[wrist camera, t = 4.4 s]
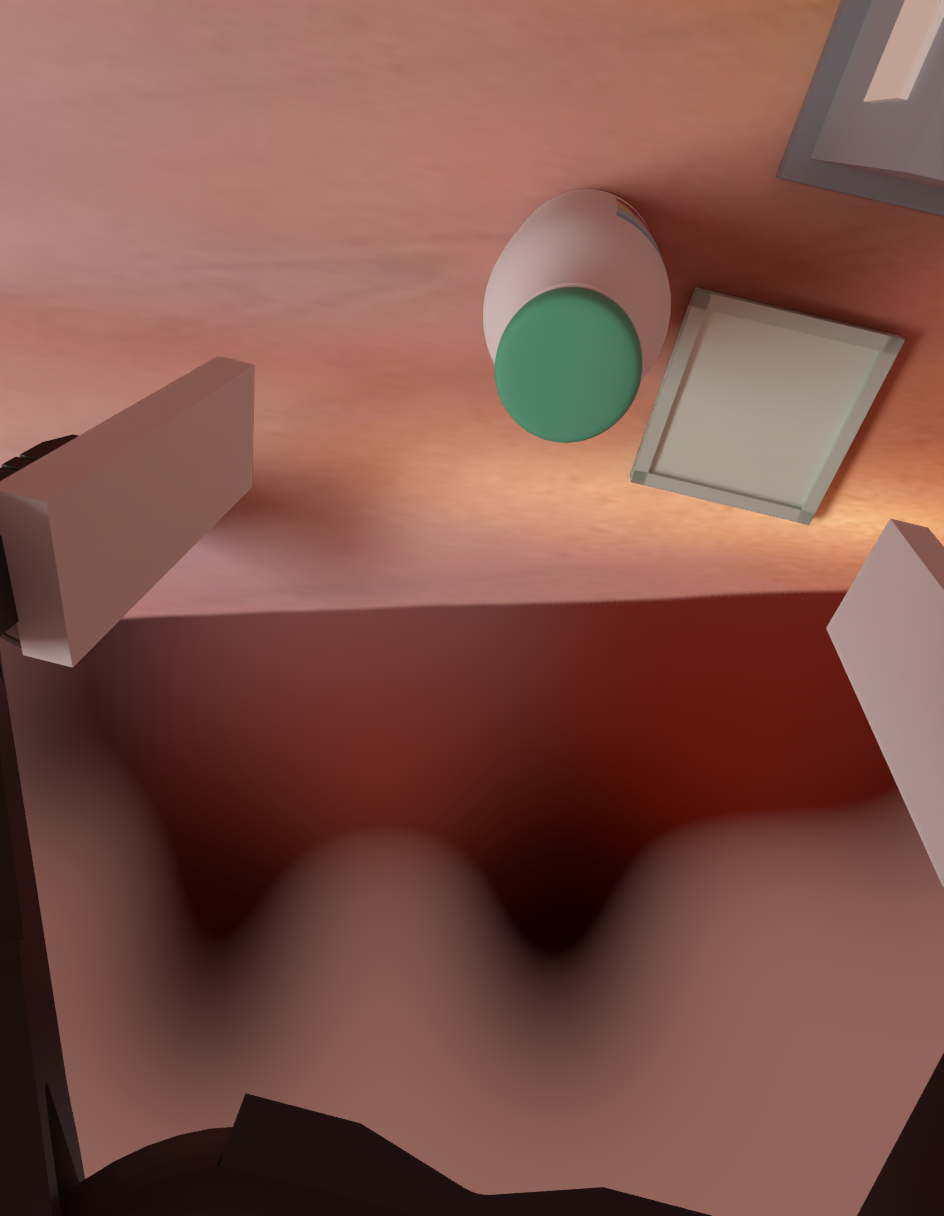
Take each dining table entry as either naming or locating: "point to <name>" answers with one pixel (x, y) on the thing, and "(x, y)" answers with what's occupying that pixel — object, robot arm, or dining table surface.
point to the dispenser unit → (876, 107)
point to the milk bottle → (576, 315)
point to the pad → (760, 405)
